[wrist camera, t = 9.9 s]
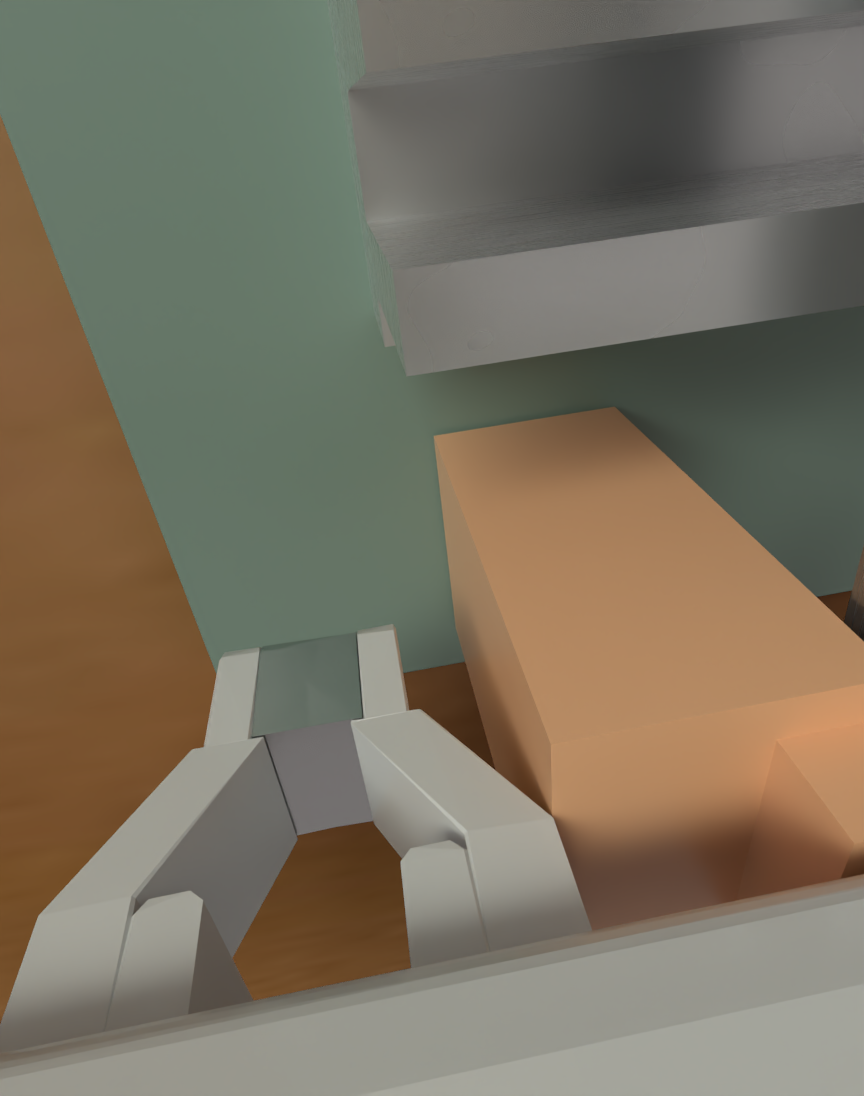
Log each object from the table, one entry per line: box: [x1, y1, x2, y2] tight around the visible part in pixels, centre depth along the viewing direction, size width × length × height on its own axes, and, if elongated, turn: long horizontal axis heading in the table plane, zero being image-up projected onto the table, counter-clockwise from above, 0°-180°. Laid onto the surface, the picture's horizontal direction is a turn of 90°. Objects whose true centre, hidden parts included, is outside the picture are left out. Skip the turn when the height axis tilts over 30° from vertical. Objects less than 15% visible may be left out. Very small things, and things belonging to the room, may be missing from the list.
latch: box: [434, 407, 864, 930], centre depth 9 cm, size 4×6×7 cm, turn 97°
